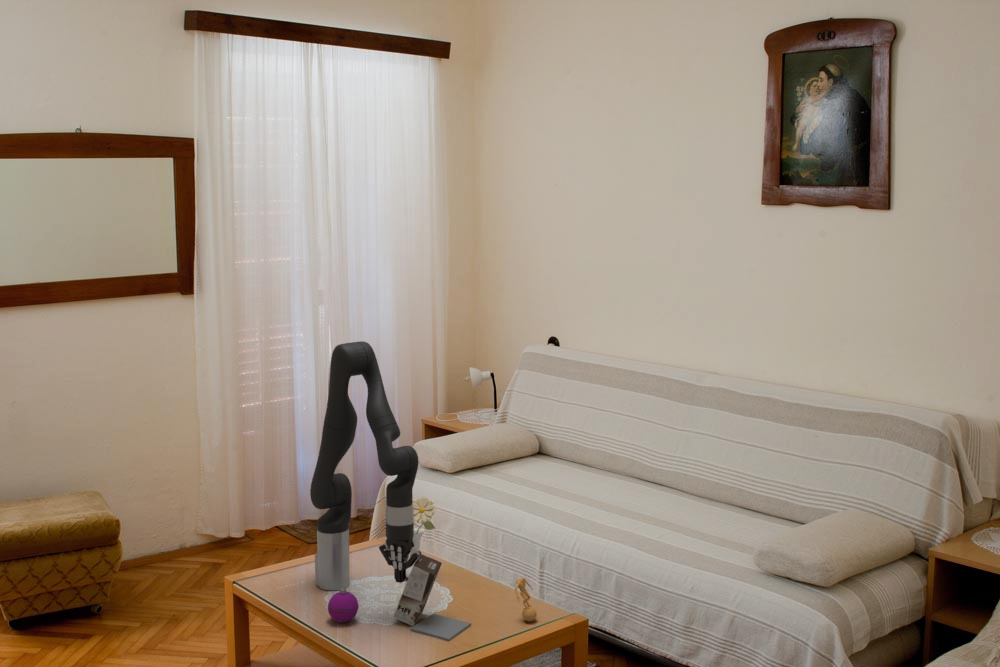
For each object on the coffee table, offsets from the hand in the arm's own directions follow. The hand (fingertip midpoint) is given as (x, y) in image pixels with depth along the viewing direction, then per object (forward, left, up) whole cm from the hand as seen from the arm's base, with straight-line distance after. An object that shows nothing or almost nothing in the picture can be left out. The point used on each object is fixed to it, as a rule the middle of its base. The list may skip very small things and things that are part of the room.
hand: (400, 581), depth 273 cm
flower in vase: (-13, +27, -11) cm, 32 cm away
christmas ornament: (-12, -10, -11) cm, 19 cm away
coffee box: (+2, 0, -9) cm, 10 cm away
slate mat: (+13, 0, -10) cm, 17 cm away
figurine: (+30, +16, -10) cm, 36 cm away
